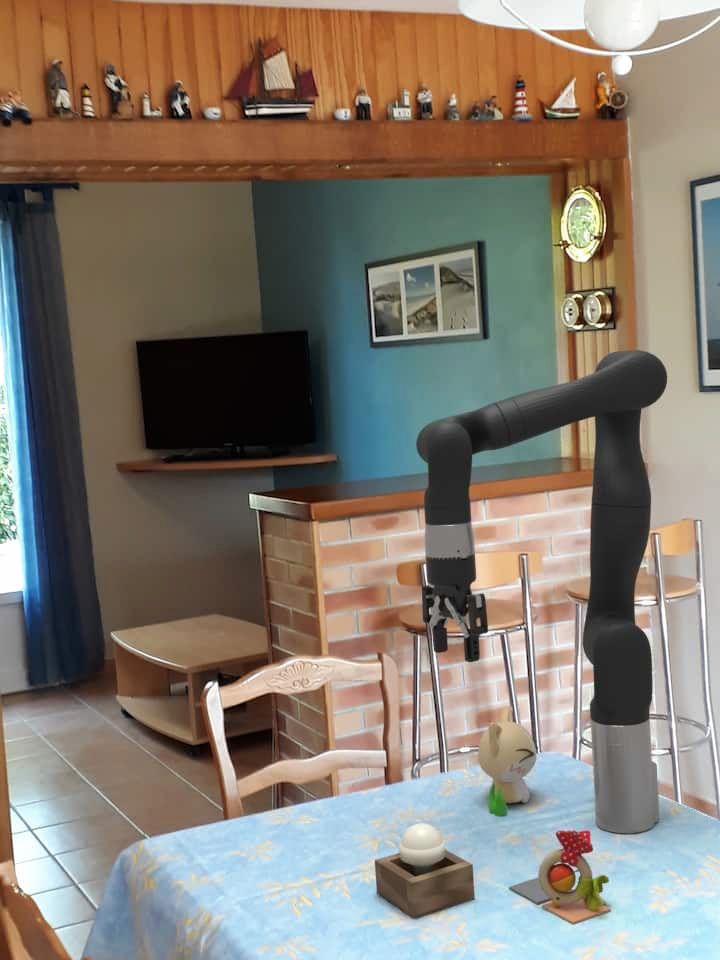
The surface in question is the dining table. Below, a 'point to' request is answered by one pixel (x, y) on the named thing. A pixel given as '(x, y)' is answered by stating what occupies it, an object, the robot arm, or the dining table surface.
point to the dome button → (422, 848)
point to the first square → (531, 891)
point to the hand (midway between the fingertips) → (456, 656)
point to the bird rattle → (571, 872)
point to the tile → (575, 911)
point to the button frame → (424, 884)
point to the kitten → (506, 762)
